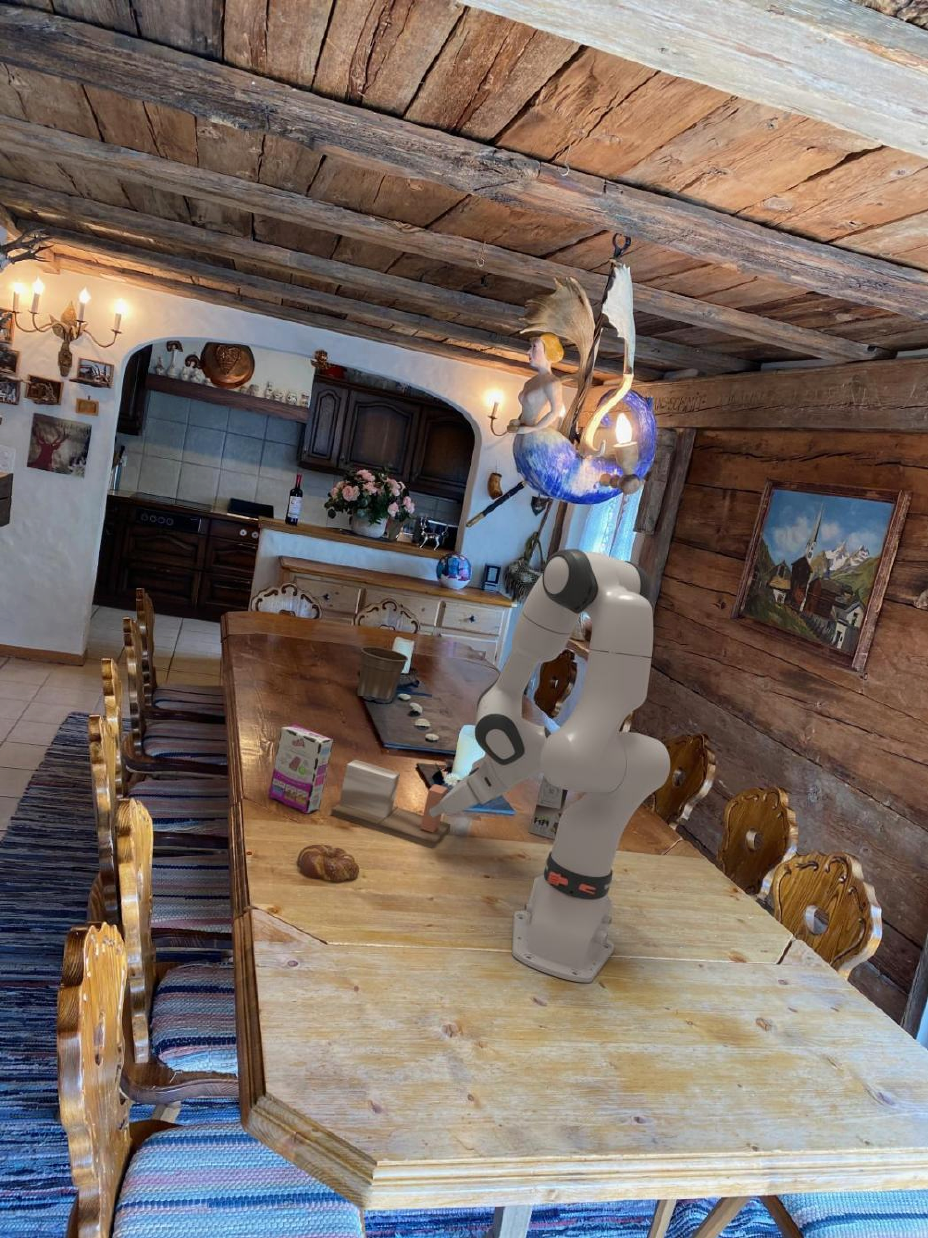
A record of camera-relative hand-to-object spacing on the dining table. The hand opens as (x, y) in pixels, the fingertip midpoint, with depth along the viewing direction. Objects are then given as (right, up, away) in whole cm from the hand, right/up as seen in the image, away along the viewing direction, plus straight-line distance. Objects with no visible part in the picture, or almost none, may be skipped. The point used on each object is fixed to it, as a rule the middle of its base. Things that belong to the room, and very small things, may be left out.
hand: (437, 806), depth 187 cm
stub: (-2, -5, +1) cm, 5 cm away
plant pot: (-24, +14, +104) cm, 108 cm away
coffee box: (+25, -10, +19) cm, 33 cm away
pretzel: (-20, -7, -24) cm, 32 cm away
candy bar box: (-32, 0, +3) cm, 32 cm away
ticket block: (-11, -4, +4) cm, 13 cm away
